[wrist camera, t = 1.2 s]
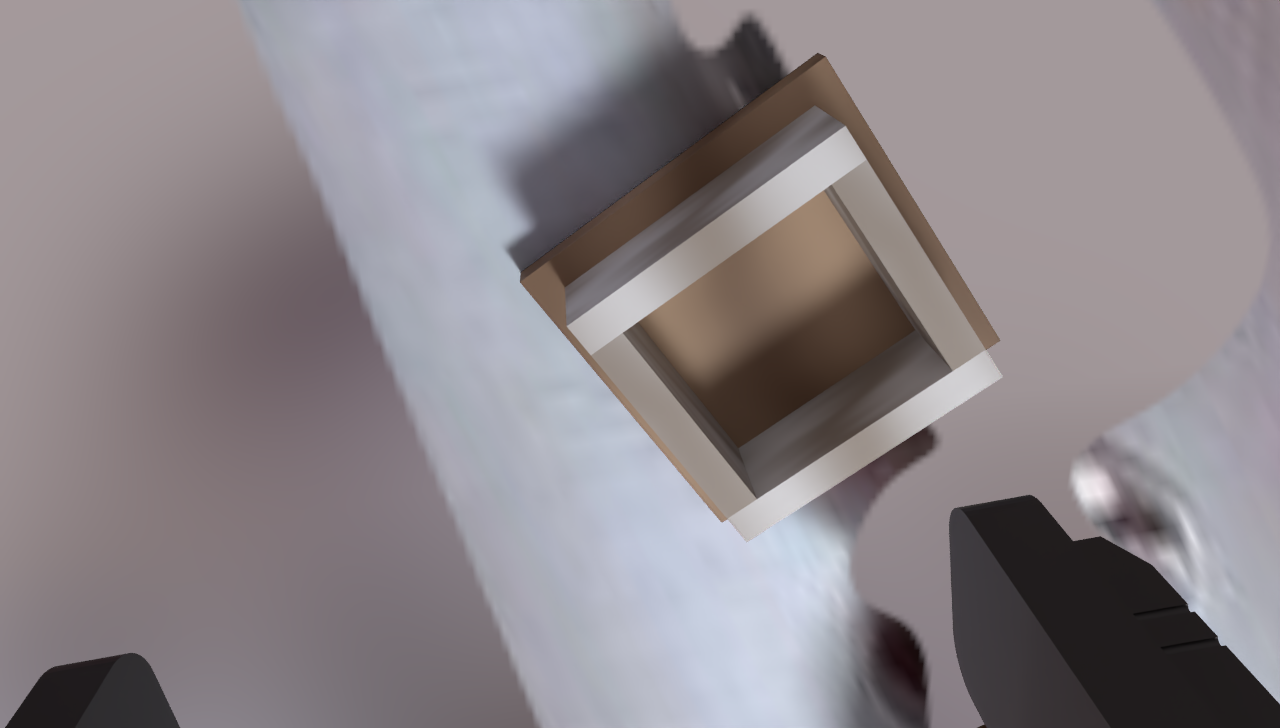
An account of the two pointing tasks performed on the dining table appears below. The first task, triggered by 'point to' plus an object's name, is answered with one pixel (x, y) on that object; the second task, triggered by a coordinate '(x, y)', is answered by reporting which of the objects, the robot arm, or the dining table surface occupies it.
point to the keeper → (771, 304)
